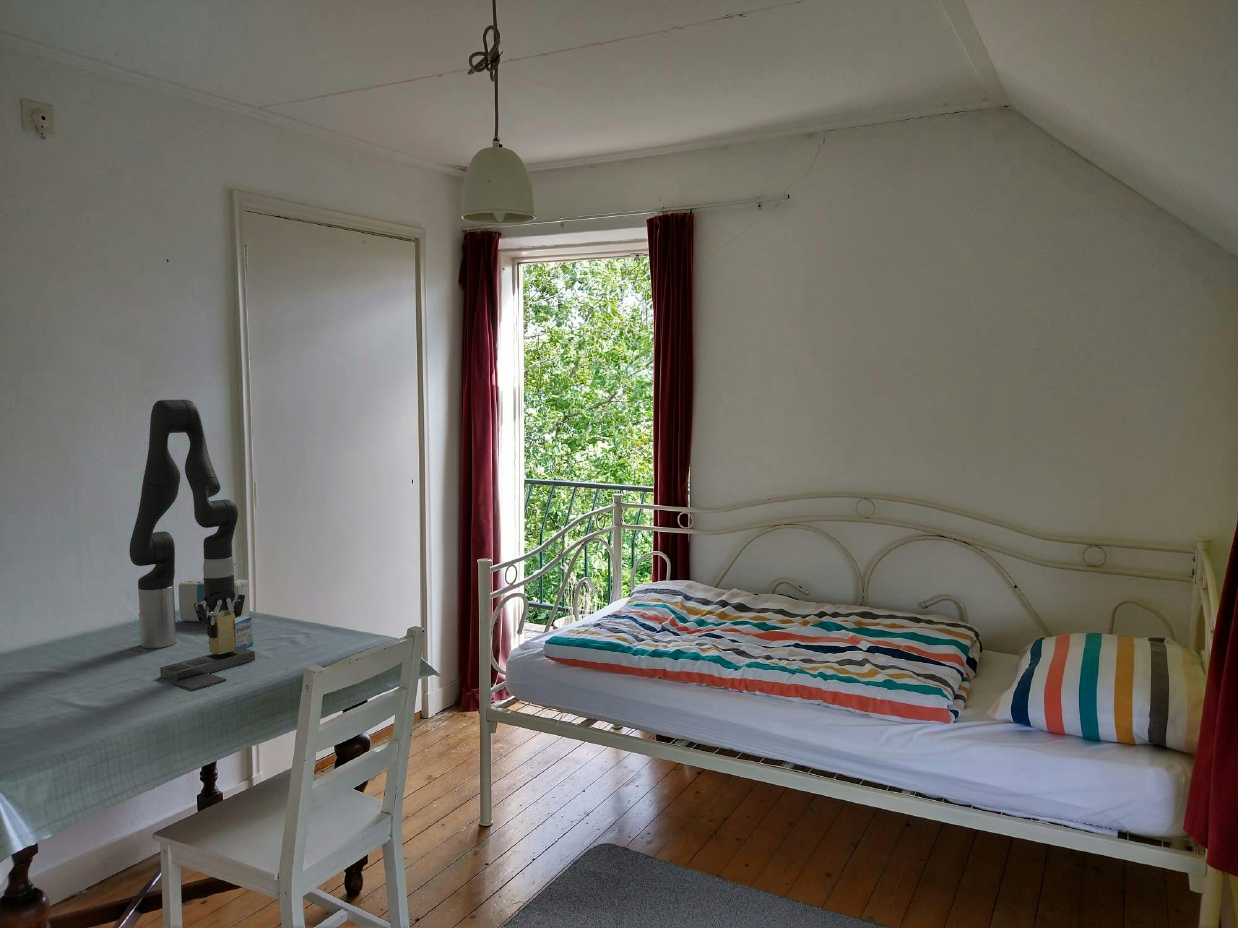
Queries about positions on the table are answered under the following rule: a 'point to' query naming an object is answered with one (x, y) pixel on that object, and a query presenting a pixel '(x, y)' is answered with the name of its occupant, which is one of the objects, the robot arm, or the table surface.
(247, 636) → the medicine box
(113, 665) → the table surface
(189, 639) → the table surface
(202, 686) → the rubber mat
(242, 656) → the rail
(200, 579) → the stereo radio cassette player
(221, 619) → the brass block
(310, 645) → the table surface
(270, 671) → the table surface
